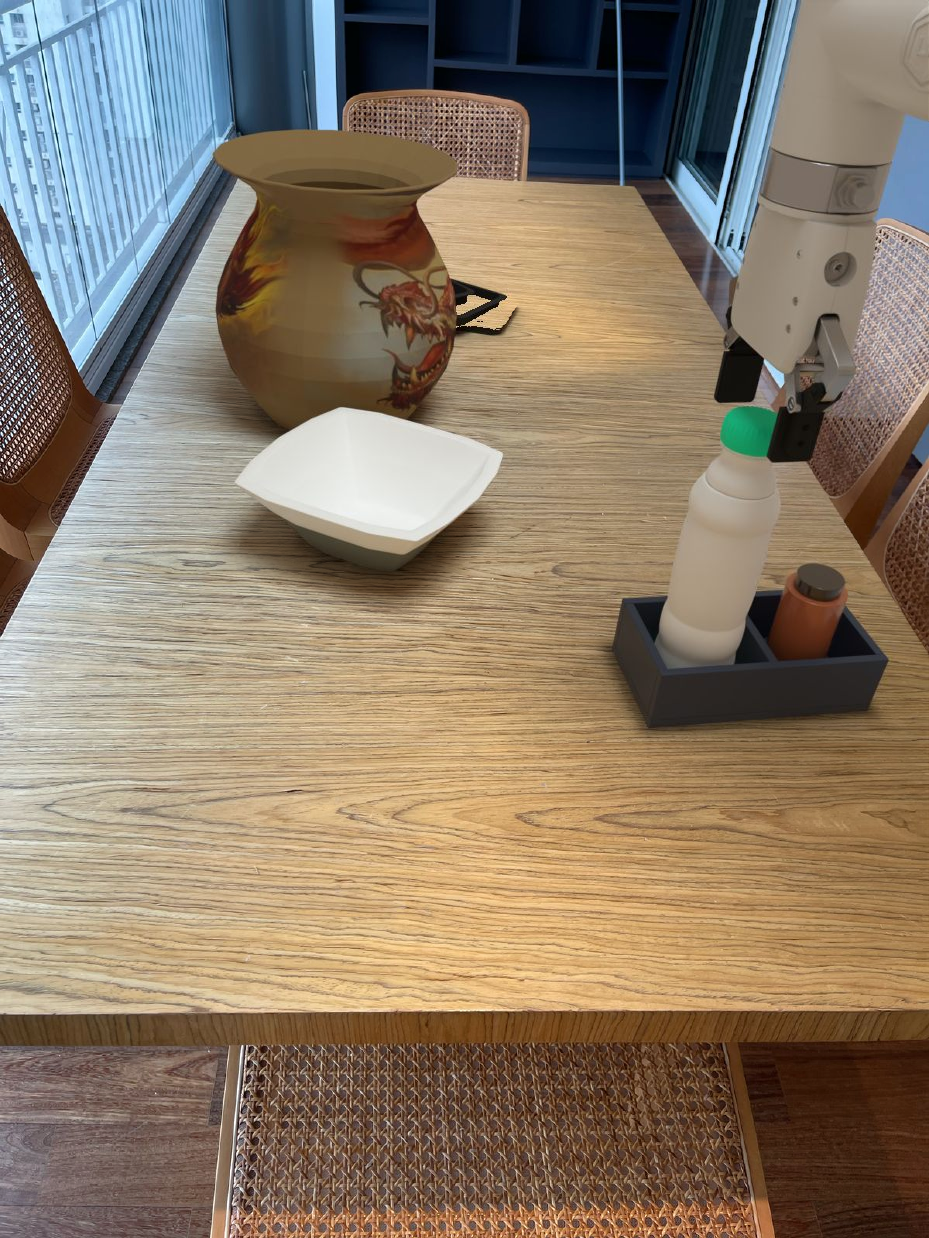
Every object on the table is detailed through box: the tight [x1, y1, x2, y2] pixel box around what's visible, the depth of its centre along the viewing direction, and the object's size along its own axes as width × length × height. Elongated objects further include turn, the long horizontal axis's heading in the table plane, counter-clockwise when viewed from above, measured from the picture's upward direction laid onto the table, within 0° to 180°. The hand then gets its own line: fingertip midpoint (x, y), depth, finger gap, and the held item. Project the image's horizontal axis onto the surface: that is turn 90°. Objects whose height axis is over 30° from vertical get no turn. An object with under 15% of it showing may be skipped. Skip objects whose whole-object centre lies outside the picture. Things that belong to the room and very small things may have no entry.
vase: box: [212, 129, 458, 431], centre depth 120 cm, size 29×29×30 cm
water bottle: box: [654, 405, 782, 669], centre depth 81 cm, size 7×7×25 cm
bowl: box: [234, 407, 504, 573], centre depth 102 cm, size 22×23×8 cm
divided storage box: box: [611, 589, 890, 729], centre depth 89 cm, size 11×20×6 cm, turn 100°
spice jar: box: [766, 562, 849, 661], centre depth 88 cm, size 5×5×10 cm
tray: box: [450, 277, 507, 336], centre depth 155 cm, size 30×23×5 cm
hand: (759, 429), depth 74 cm, fingers open, 9 cm apart
